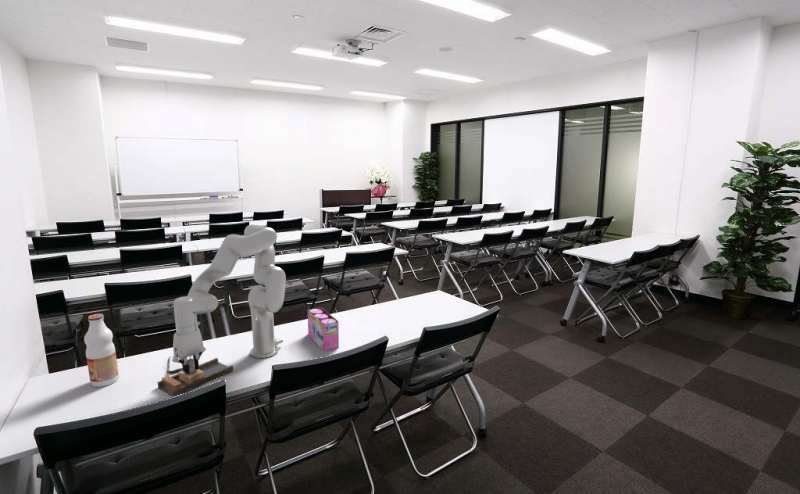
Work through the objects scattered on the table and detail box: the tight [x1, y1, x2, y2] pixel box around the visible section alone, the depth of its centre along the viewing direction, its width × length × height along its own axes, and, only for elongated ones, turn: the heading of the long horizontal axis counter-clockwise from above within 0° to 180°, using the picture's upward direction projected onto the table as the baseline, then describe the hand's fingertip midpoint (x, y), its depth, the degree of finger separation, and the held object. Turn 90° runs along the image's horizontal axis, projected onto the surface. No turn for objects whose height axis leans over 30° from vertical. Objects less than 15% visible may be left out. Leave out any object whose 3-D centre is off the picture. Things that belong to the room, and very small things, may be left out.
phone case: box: [167, 355, 192, 375], centre depth 182 cm, size 9×2×16 cm
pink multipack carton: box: [307, 306, 340, 352], centre depth 206 cm, size 24×8×14 cm, turn 32°
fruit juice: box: [83, 313, 120, 388], centre depth 164 cm, size 9×9×28 cm
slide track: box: [157, 357, 234, 398], centre depth 169 cm, size 25×12×4 cm, turn 145°
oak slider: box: [178, 358, 204, 384], centre depth 167 cm, size 6×8×8 cm
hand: (191, 370), depth 167 cm, fingers closed on oak slider, 3 cm apart
